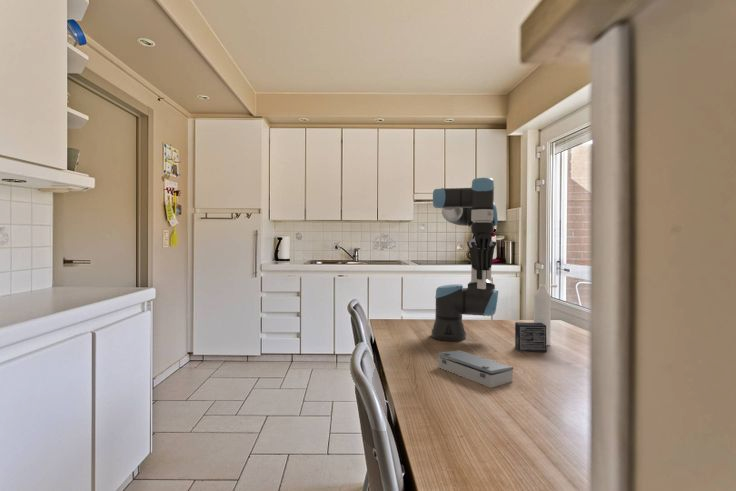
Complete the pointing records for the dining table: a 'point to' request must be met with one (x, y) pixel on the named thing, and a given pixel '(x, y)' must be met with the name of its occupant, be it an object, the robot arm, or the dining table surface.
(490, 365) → the cover
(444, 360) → the hinged pencil case
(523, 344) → the small box
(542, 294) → the water bottle
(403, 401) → the dining table surface
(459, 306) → the robot arm
